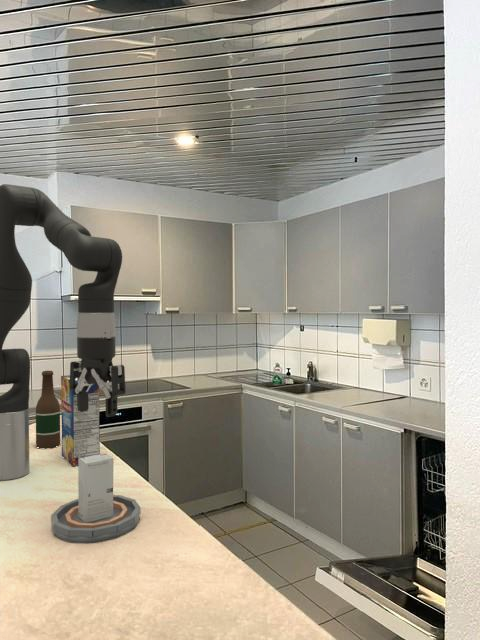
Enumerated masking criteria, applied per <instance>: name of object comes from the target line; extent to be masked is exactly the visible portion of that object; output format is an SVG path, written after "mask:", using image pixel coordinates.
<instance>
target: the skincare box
mask: <svg viewBox="0 0 480 640" xmlns="http://www.w3.org/2000/svg"><path fill="white" fill-rule="evenodd" d="M78 461H79V466H78V475H77V476H78V477H77V478H78V479H77V481H78V483H77V485H78V486H77V489H78V490H77V491H78V497H77V499H78V516H79V517H80V519H81V520H82V521H83V522H84V523H88V522H92V521H96V520H100V519H104V518H108V517H111V516H113V495H114V457H113V456H111V455H110V454H107V453H100V455H93V456H88V457H83V458H79V459H78Z"/></svg>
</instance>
